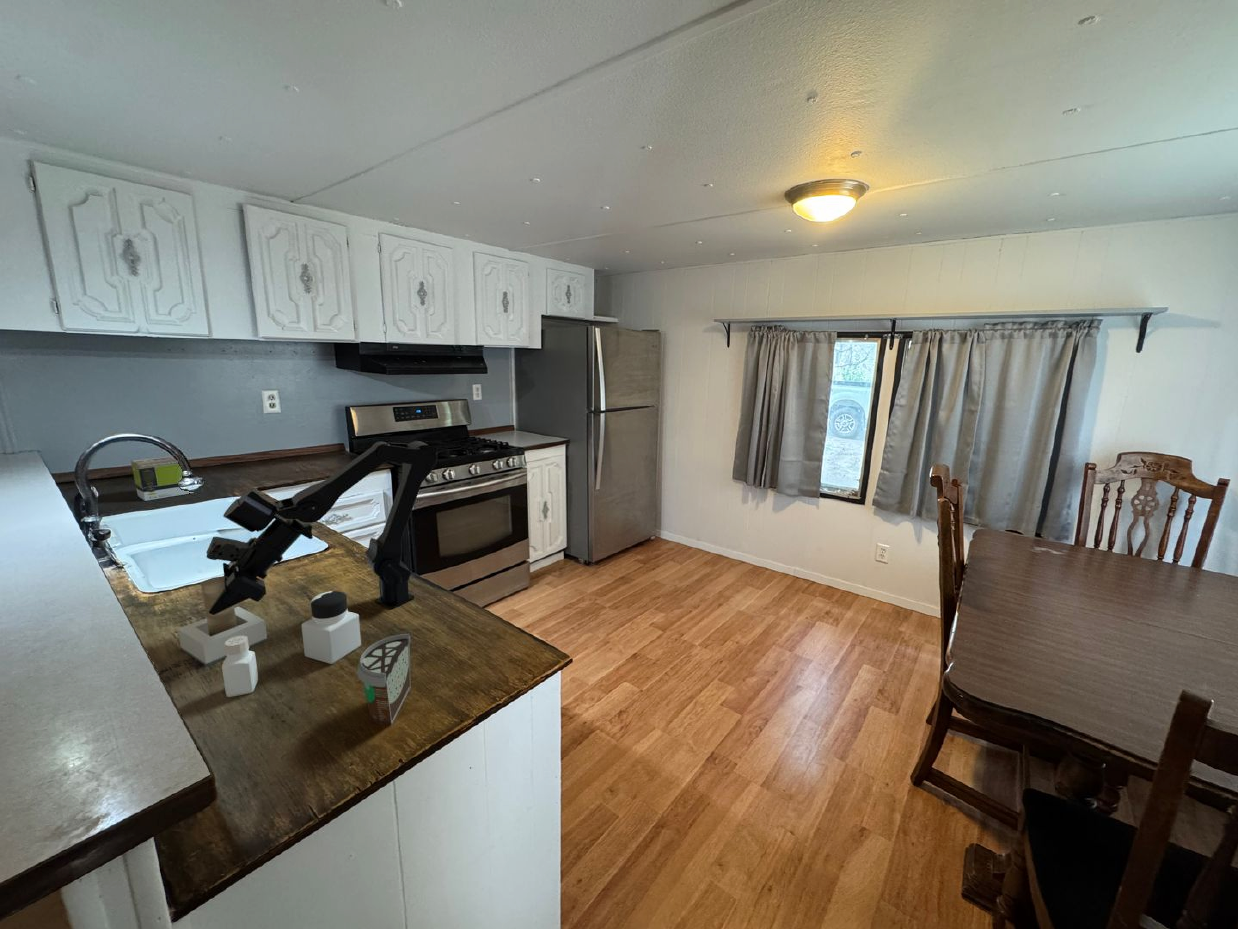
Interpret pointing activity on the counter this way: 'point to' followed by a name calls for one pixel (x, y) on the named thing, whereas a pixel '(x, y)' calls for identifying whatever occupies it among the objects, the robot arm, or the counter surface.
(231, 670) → the pepper shaker
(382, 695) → the food container
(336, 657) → the medicine bottle
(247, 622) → the socket block
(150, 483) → the tea box
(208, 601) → the oak plug peg
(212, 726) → the counter surface
